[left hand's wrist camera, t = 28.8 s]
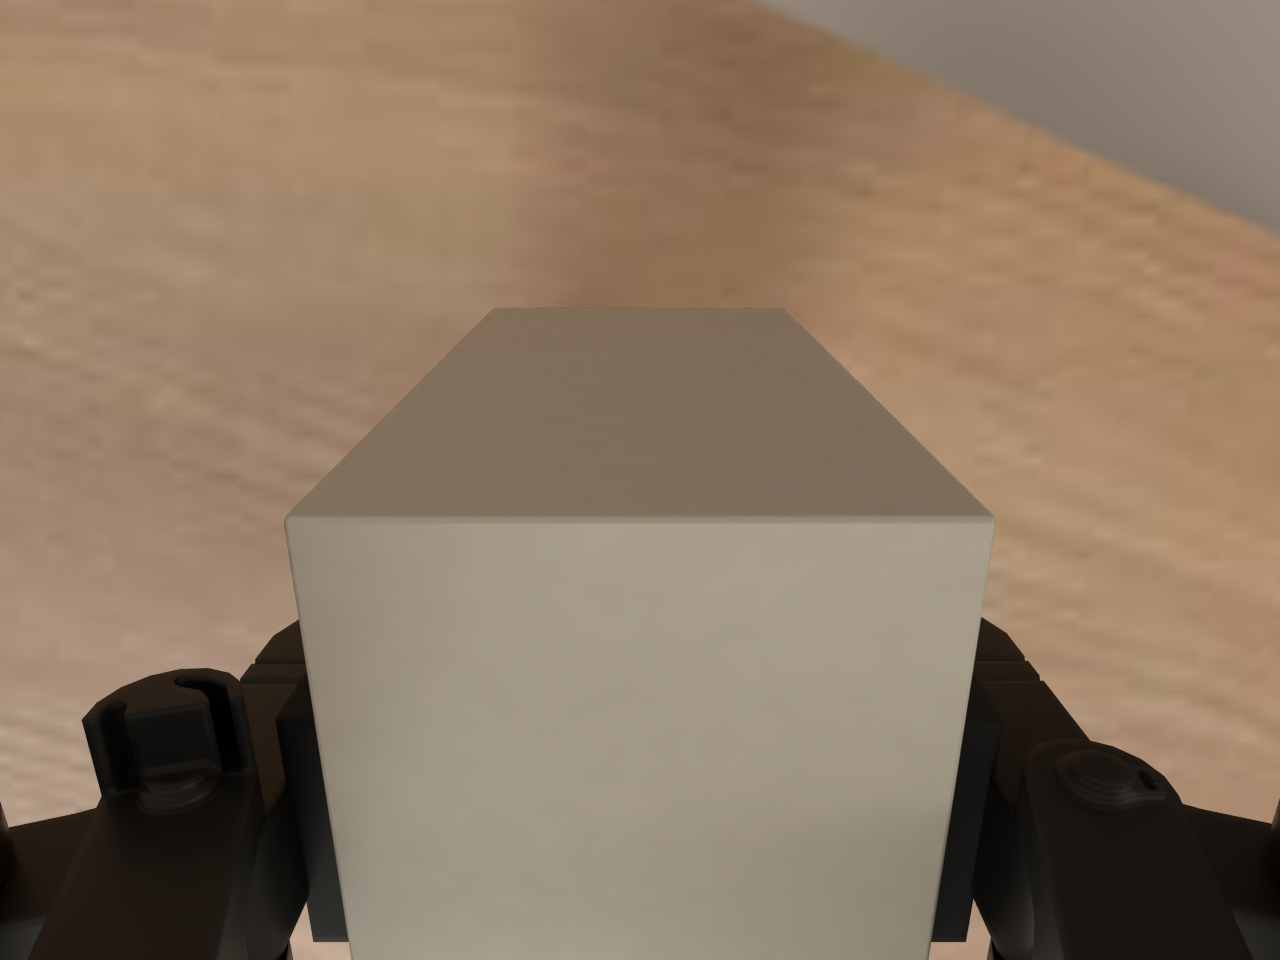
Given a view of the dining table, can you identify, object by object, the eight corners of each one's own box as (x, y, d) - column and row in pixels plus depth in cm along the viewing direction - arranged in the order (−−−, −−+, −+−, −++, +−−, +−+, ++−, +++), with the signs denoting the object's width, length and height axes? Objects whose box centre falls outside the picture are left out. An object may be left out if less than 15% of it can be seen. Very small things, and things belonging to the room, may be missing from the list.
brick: (785, 307, 15) (999, 517, 6) (764, 674, 18) (894, 1199, 9) (492, 307, 15) (280, 517, 6) (514, 675, 18) (386, 1200, 9)
